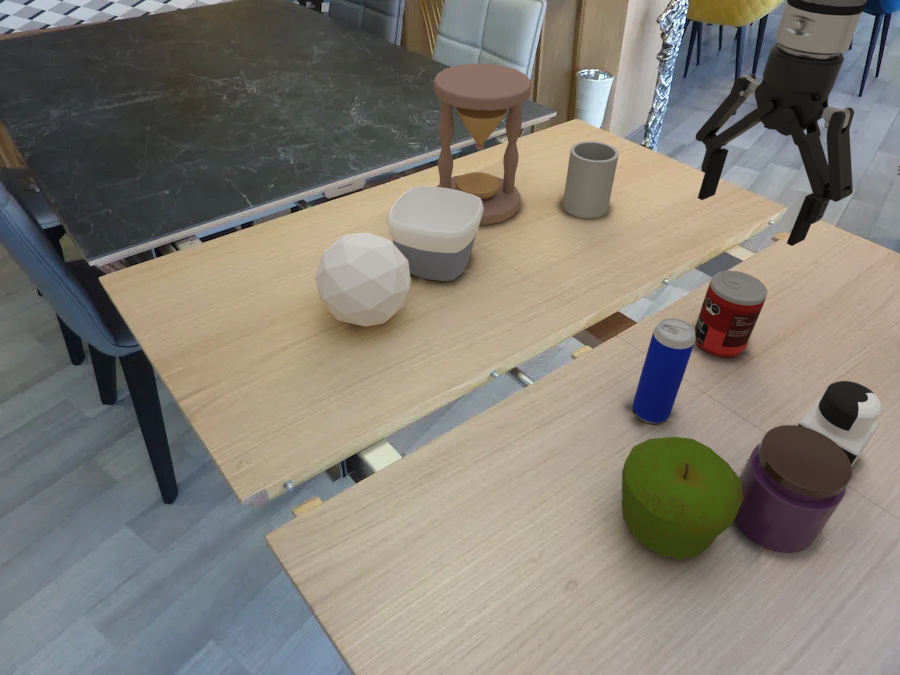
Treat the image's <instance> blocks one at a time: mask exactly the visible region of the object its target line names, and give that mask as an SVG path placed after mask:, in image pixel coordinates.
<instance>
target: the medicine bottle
mask: <svg viewBox="0 0 900 675" xmlns="http://www.w3.org/2000/svg"><path fill="white" fill-rule="evenodd" d="M882 409H883V405H882V402H881V401H880V398H879V397H878V396H877V394H876V393H875V392H874V391H872V390H871V388H868V387H866V386H865V385H864V384H863V385H862V384H861V383H857V382H855V381H850V380H839V381H835V382H832V383H830V384H829V385H828V386H827V388H826V390H825V391H824V393H823V394H822V395H820V396H819V398H818V399H817V400H816V401H815V403H814V404H813V405H812V406H811V407H810V408H809V409H808V411H807V412H806V413H805V415H804V416H802V418H801V420H800V421H799V422H798V425H797V426H801V427H806V428H809V429H812V430H815V431H817V432H819V433H821V434H823V435H825V436H827V437H828V438H830V439H831V440H832V441H834V442H835V443H836V444H837V445H838V446H839V447H840V448H841V449H842V450H843V451H844V452H845V454H846V455H847V457H848V459H849V461H850V463H851V467H853V466H854V464H855V463H856V461H857V460H858V458H859V457H860V456H861V454H862V452H863V451H864V449H865V448H866V446H867V445H868V443H869V442H870V440H871V439H872V437H873V435H875V433H876V431H877V430H878V428H879V423H878V422H877V421H876V420H877V418H878V417H879V415H880V414H881V412H882Z"/></svg>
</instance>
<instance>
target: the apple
mask: <svg viewBox="0 0 900 675" xmlns="http://www.w3.org/2000/svg"><path fill="white" fill-rule="evenodd" d="M621 474H622V475H621V511H622V519H623V521H624V523H625V524H626V525H627V528H628V530H629V531H630V532H631V534H632V535H633V536H634V537H635V538H636V539H637V540H638V541H639V543H641V545H642V546H644V547H646V548H648V549H649V550H651V551H652V552H655V554H656V553H657V554H658V555H660V556H664V557H668V558H671V559H675V560H683V559H691V558H696V557H698V556H699V555H701V554H702V553H703V552H705V551H706V550H707V549H709V548H710V547H711V545H712V544H713V543H714V541H715V540H716V539H717V538H718V537H719V536H720V535H721V534H722V533H723V532H725V531H726V530H728V529H729V528H730V527H731V526H733V524H734V519H735V517H736V515H737V513H738V510H739V508H740V506H741V503H742V501H743V491H742V483H741V480H740V478H739V477H740V476H739V475H738V474H737V473H736V472H735V471H734V469H733V468H732V466H731V465H730V464H729V463H728V462H727V461H725V459H724V458H722V457H721V456H720V455H719V454H718V453H717V452H715V450H714V449H713V448H711V447H710V446H707V445H705V444H704V443H702V442H701V441H698V440H696V439H694V438H688V437H681V436H665V437H655V438H649V439H647V440H643V441H642V442H640V443H638V444H636V445H634V446H633V447H632V448H631V450H630V451H629V454H628V455H627V457H626V459H625V461H624V463H623V467H622V472H621Z"/></svg>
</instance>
